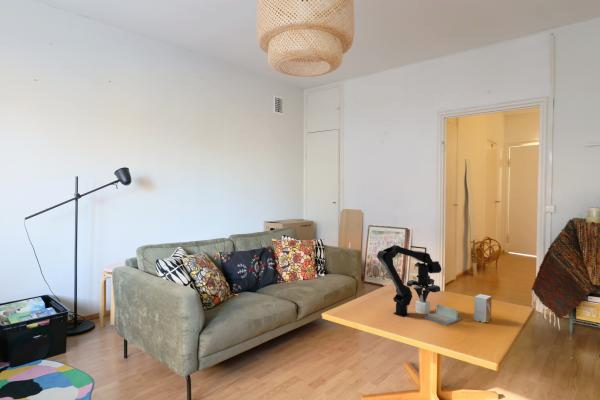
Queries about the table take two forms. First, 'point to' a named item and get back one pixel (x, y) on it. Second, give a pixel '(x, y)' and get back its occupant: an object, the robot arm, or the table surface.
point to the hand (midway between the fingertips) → (422, 300)
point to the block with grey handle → (422, 306)
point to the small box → (482, 308)
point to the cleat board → (444, 315)
